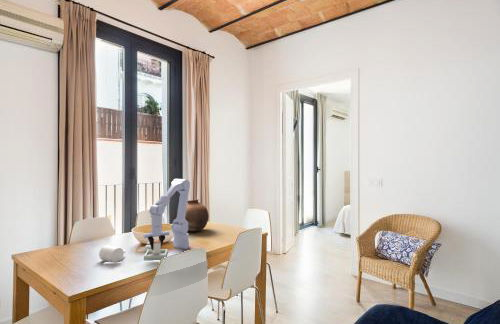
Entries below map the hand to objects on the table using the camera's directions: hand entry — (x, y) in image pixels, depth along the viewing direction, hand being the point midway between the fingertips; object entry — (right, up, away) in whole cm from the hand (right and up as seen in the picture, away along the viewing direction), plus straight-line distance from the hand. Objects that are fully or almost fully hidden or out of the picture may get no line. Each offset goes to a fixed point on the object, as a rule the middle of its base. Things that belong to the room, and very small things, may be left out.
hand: (156, 248), depth 171 cm
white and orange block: (0, -3, 0) cm, 3 cm away
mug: (-21, -5, -7) cm, 23 cm away
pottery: (+10, -5, +63) cm, 64 cm away
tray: (0, -5, 0) cm, 4 cm away
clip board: (-8, -4, +11) cm, 14 cm away
